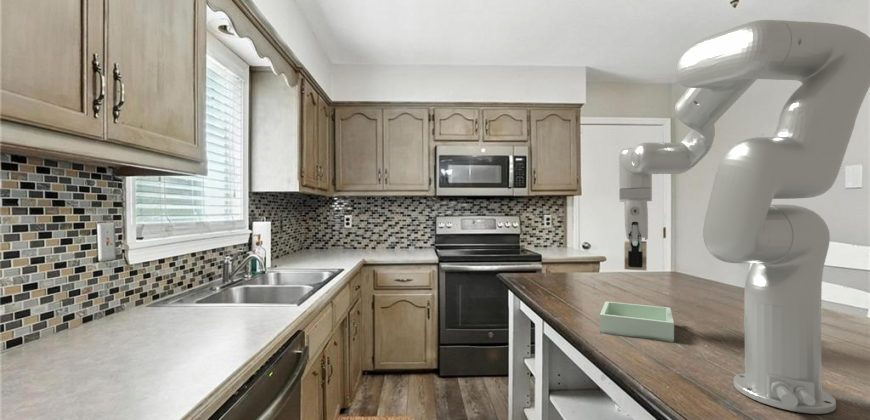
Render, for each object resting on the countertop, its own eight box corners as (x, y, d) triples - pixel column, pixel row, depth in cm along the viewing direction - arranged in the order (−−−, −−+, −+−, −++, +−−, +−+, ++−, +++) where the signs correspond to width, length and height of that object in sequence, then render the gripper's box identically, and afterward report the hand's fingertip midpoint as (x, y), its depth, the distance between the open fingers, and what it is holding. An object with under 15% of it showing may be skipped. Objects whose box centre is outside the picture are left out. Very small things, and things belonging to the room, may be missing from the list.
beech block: (646, 270, 98) (646, 242, 98) (624, 269, 101) (624, 242, 100) (646, 267, 103) (646, 241, 102) (625, 266, 105) (625, 240, 105)
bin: (674, 342, 91) (674, 323, 91) (599, 332, 98) (599, 314, 98) (670, 324, 105) (670, 307, 105) (605, 316, 112) (605, 301, 112)
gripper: (652, 194, 92) (652, 271, 92) (651, 196, 107) (651, 262, 107) (617, 195, 96) (617, 269, 96) (621, 196, 111) (621, 260, 111)
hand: (635, 264), depth 102 cm, fingers closed on beech block, 5 cm apart
